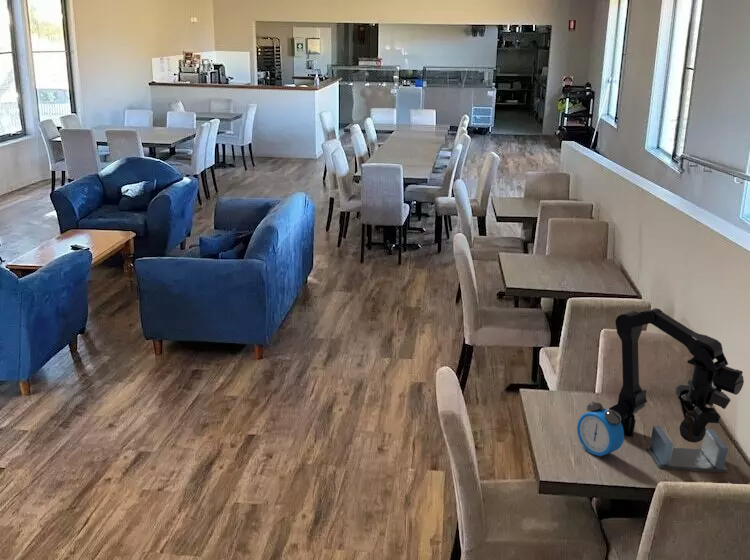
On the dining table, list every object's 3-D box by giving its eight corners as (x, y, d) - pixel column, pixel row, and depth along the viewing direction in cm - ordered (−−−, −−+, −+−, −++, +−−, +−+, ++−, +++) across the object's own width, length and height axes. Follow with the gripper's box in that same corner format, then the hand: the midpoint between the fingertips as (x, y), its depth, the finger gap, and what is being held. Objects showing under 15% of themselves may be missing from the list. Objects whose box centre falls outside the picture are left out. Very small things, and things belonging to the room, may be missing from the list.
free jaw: (661, 464, 219) (665, 444, 217) (649, 445, 229) (653, 425, 227) (670, 465, 219) (674, 444, 217) (657, 445, 229) (661, 426, 227)
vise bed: (658, 468, 219) (663, 444, 217) (646, 448, 230) (650, 425, 227) (727, 472, 219) (732, 448, 217) (712, 453, 230) (717, 429, 227)
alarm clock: (573, 444, 230) (580, 400, 225) (587, 439, 233) (593, 395, 229) (608, 464, 220) (615, 418, 215) (621, 459, 223) (629, 413, 219)
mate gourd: (701, 447, 218) (708, 417, 214) (674, 440, 221) (680, 409, 218) (705, 437, 224) (712, 407, 220) (679, 429, 227) (685, 400, 224)
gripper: (744, 398, 208) (732, 447, 212) (716, 369, 225) (706, 416, 230) (703, 395, 208) (693, 445, 213) (679, 367, 226) (670, 413, 230)
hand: (691, 429), depth 221 cm, fingers closed on mate gourd, 7 cm apart
